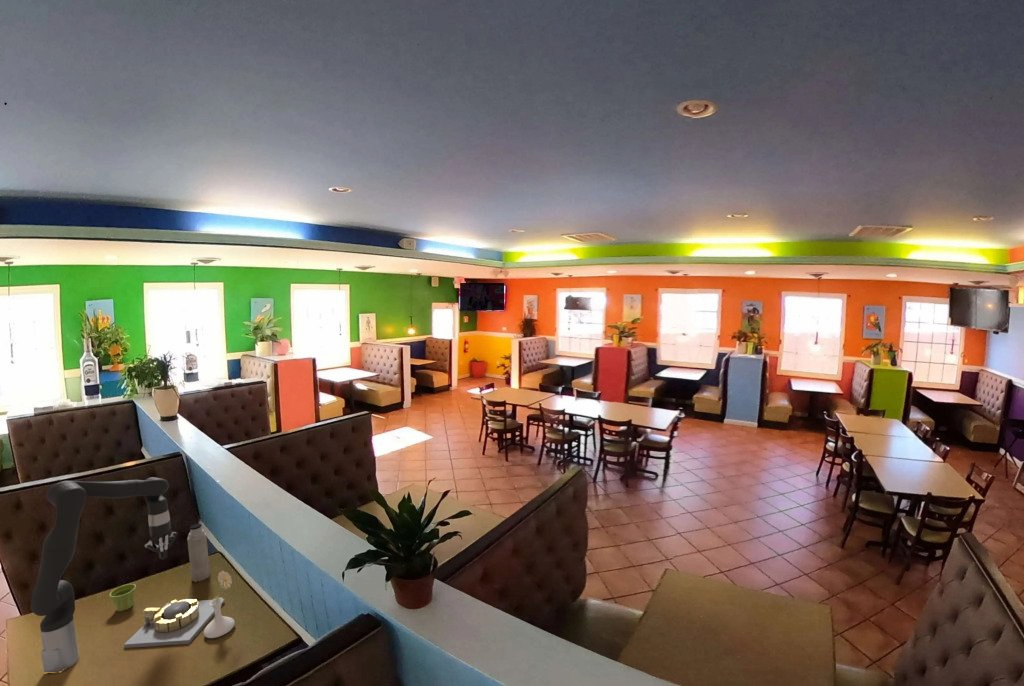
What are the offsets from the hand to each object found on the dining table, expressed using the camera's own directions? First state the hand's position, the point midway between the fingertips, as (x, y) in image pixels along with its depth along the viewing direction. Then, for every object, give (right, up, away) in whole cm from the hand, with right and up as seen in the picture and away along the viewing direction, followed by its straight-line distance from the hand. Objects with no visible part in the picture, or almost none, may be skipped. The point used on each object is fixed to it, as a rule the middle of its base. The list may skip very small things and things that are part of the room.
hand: (163, 558), depth 207 cm
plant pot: (-24, -27, +8) cm, 38 cm away
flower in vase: (+32, -27, -9) cm, 43 cm away
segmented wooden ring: (+6, -25, -4) cm, 26 cm away
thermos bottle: (-4, -24, +30) cm, 39 cm away
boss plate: (+9, -27, -4) cm, 29 cm away
